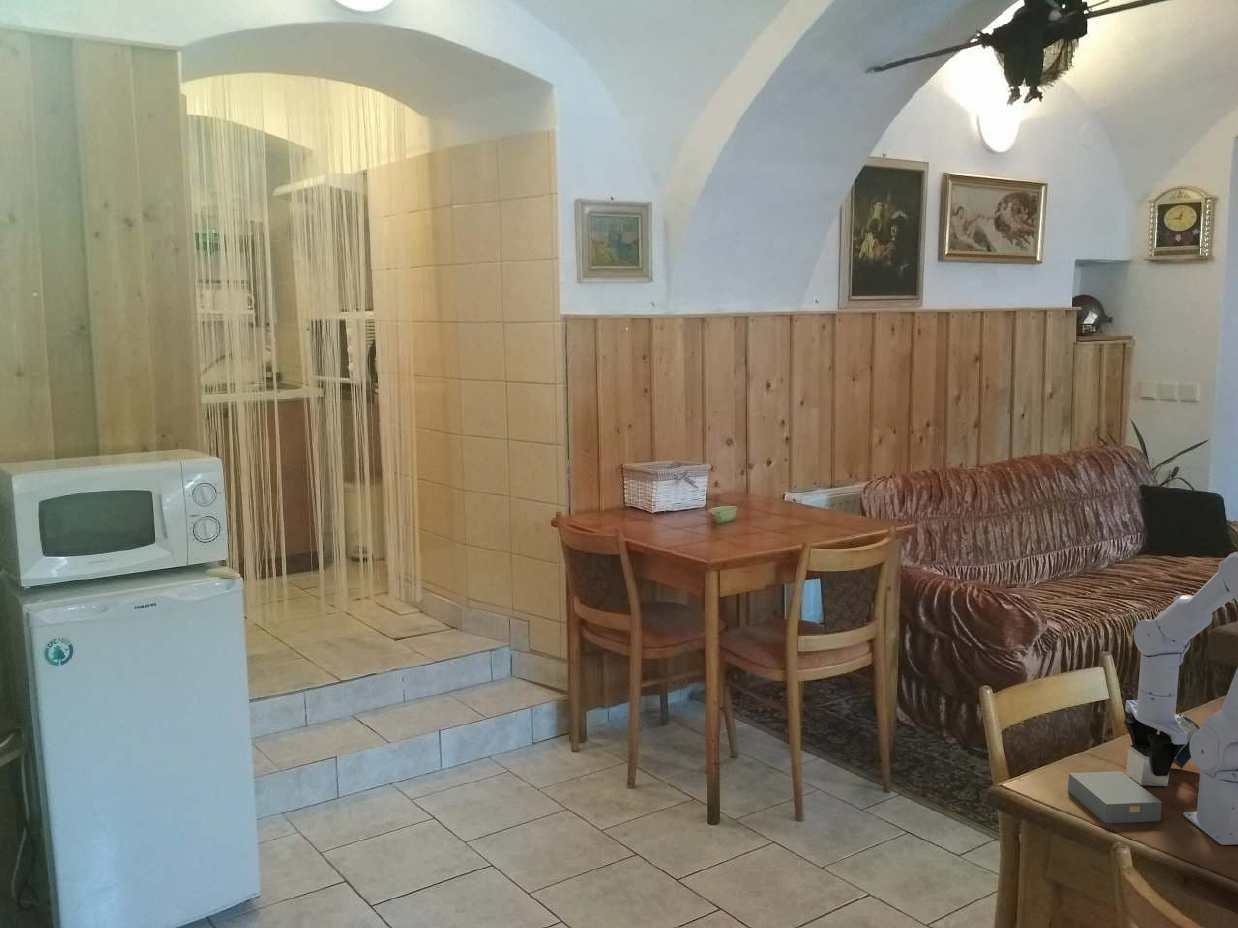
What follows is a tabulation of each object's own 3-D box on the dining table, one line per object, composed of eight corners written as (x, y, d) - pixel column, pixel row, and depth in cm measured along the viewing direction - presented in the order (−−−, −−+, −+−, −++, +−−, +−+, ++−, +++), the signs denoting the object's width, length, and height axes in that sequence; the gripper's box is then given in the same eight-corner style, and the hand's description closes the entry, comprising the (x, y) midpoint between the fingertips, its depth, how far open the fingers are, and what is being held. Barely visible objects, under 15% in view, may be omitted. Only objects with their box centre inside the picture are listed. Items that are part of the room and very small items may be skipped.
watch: (1204, 742, 180) (1214, 725, 171) (1175, 776, 179) (1183, 761, 170) (1174, 720, 183) (1182, 703, 174) (1145, 753, 182) (1151, 738, 173)
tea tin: (1168, 786, 172) (1172, 757, 171) (1140, 785, 171) (1144, 756, 171) (1151, 773, 176) (1155, 745, 176) (1124, 772, 176) (1128, 744, 175)
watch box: (1161, 824, 160) (1162, 802, 160) (1105, 826, 159) (1107, 805, 159) (1119, 791, 171) (1121, 771, 171) (1067, 793, 170) (1069, 772, 170)
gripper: (1208, 705, 165) (1201, 786, 167) (1155, 675, 179) (1149, 749, 181) (1165, 706, 164) (1159, 787, 166) (1116, 676, 179) (1110, 750, 181)
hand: (1151, 768), depth 174 cm, fingers closed on tea tin, 5 cm apart
